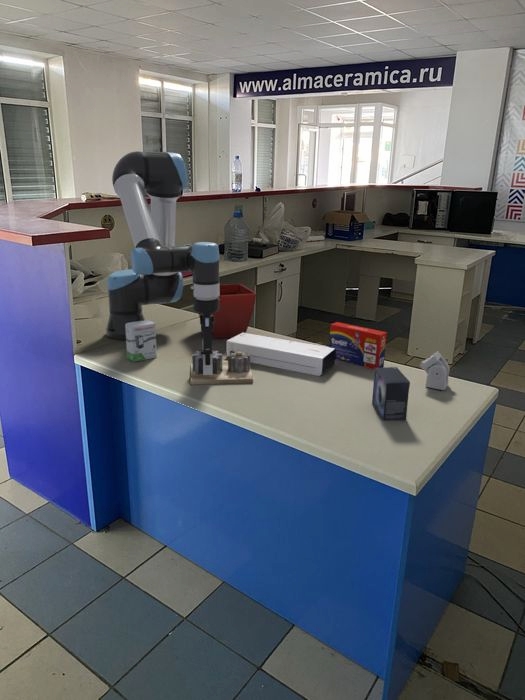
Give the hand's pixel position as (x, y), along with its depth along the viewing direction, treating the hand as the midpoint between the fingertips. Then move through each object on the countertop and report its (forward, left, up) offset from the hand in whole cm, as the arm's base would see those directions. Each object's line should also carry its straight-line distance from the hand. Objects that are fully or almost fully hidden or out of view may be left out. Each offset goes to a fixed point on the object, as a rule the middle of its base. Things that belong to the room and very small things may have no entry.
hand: (207, 366), depth 159 cm
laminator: (-9, +23, -3) cm, 25 cm away
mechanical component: (+14, +65, -3) cm, 67 cm away
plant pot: (-42, +7, -3) cm, 43 cm away
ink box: (-16, -21, -3) cm, 27 cm away
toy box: (-7, +48, -3) cm, 49 cm away
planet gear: (0, 0, -1) cm, 1 cm away
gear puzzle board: (0, +4, -2) cm, 5 cm away
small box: (+30, +46, -3) cm, 55 cm away
